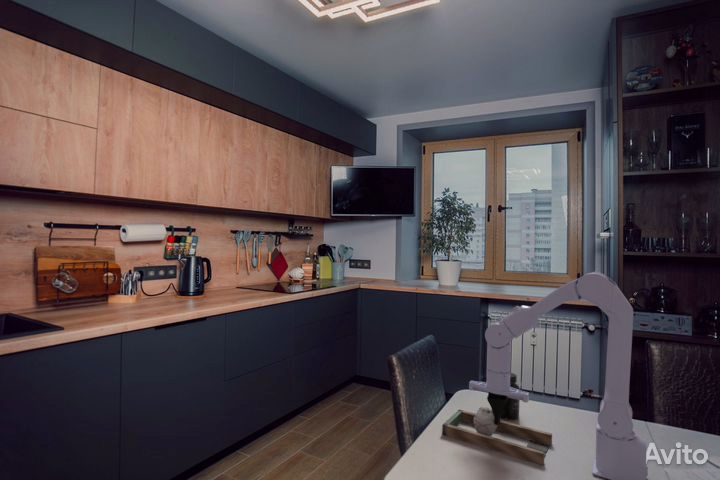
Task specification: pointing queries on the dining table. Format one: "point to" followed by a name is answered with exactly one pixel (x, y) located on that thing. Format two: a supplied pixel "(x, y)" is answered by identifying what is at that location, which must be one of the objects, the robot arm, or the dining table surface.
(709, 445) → the dining table surface
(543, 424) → the dining table surface
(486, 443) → the box
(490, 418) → the white head sculpture
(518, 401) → the supplement bottle
